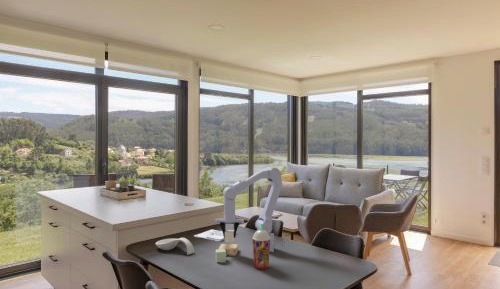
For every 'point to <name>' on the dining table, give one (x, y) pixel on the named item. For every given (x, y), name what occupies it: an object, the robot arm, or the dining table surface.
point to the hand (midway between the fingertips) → (229, 237)
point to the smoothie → (261, 248)
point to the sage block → (220, 255)
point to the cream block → (229, 235)
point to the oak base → (230, 249)
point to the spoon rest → (174, 244)
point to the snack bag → (212, 235)
